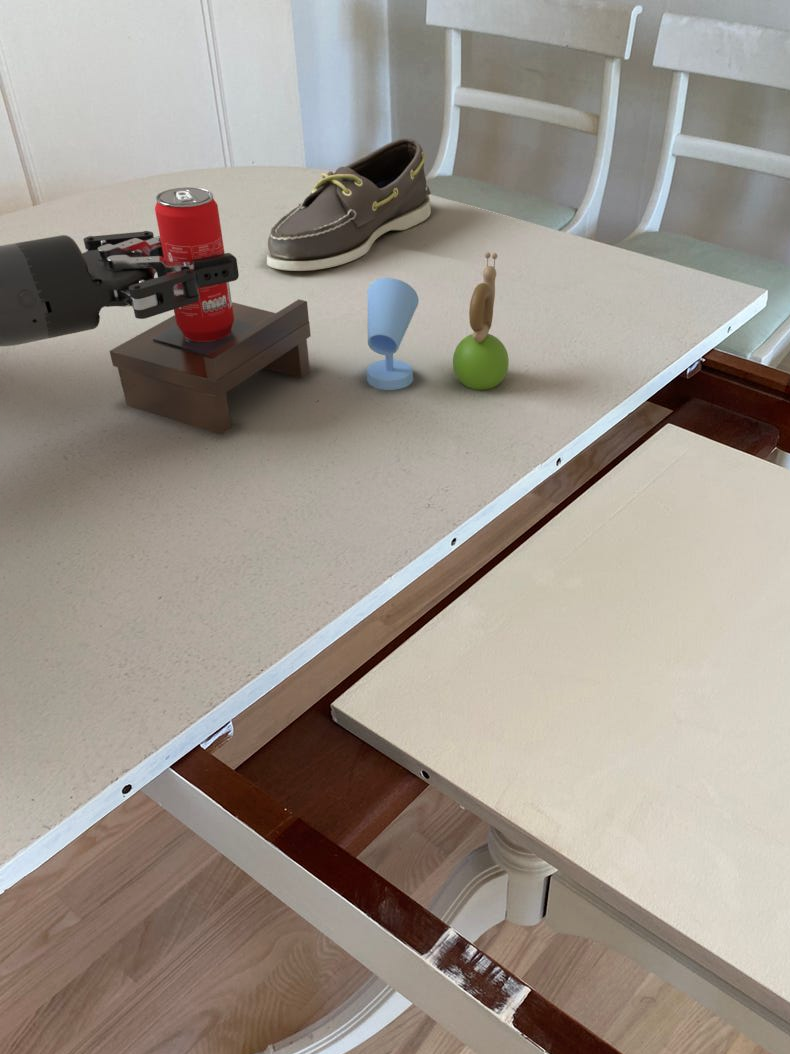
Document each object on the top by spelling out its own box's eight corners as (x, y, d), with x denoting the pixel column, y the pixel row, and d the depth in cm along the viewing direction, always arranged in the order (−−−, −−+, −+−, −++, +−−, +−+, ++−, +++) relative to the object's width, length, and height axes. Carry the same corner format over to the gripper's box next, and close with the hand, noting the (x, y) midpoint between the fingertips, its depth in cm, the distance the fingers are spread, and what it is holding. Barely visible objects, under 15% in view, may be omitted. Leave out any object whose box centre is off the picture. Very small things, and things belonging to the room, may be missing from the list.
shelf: (124, 410, 91) (103, 329, 86) (218, 352, 101) (205, 276, 95) (227, 443, 87) (212, 359, 82) (315, 379, 97) (307, 300, 91)
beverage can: (184, 348, 87) (158, 209, 79) (173, 325, 91) (147, 189, 83) (241, 339, 89) (222, 202, 81) (228, 317, 93) (208, 183, 85)
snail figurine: (514, 374, 98) (520, 254, 90) (501, 403, 94) (506, 280, 86) (462, 367, 99) (463, 248, 91) (446, 396, 95) (446, 274, 87)
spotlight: (374, 365, 99) (359, 397, 94) (368, 267, 92) (352, 296, 87) (421, 369, 99) (409, 401, 94) (419, 271, 92) (406, 300, 87)
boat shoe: (239, 269, 117) (228, 189, 111) (386, 200, 137) (383, 129, 131) (311, 289, 113) (303, 208, 107) (452, 215, 133) (452, 143, 127)
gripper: (18, 306, 86) (201, 270, 94) (63, 370, 78) (261, 325, 85) (-8, 218, 81) (187, 188, 89) (37, 276, 73) (250, 237, 80)
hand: (222, 255), depth 87 cm, fingers closed on beverage can, 5 cm apart
